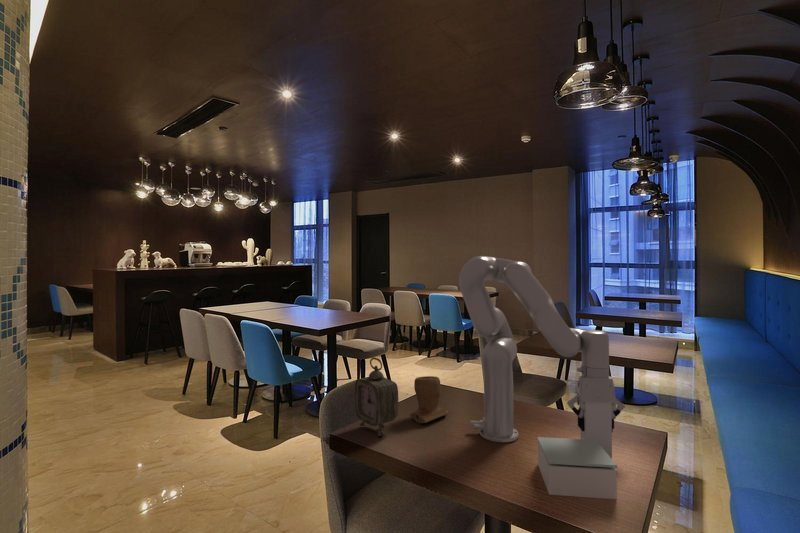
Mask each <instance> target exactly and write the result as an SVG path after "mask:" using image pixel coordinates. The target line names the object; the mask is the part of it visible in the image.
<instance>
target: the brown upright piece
mask: <svg viewBox="0 0 800 533" xmlns="http://www.w3.org/2000/svg"><path fill="white" fill-rule="evenodd" d="M413 387H414V392H415V396H416V399H417V403H418V404H417V405H418V408H417V410H415V411H414V412H412V413H410V414H409V416H410V417H411V418H412V420H414V421H415V422H416V423H419V424H425V423H426V424H427V423H429V422H431V421H434V420H436V419H439V418H442V417H443V416H446V415H447V414H448V413H449V410H447V409H445V408H443V407H441V406H440V405H439V404H440V397H441V394H442V386H441V380H440V378H439V377H438V376H433V375H432V376H431V375H429V376H428V375H426V376H418V377H416V378H414V386H413Z"/></svg>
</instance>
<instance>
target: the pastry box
mask: <svg viewBox="0 0 800 533" xmlns="http://www.w3.org/2000/svg"><path fill="white" fill-rule="evenodd" d="M537 467H538V468H539V471H540V474H541V477H542V479H543V482H544V484H545V487H546V491H547V493H548V495H551V496H552V495H553V496H565V497H577V498H578V497H579V498H590V499H591V498H593V499H604V500H605V499H606V500H607V499H608V500H617V499H618V497H617V493H618V492H617V491H618V490H617V478H618V477H617V468H610V467H593V466H577V465H566V466H562V465H558V464H548V462H547V460H546V457H545V455H544V453H543V451H542V449H541V446H540V444H539V442H538V441H537Z"/></svg>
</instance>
